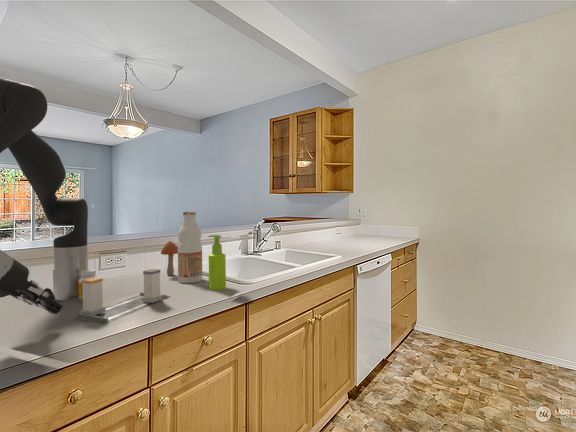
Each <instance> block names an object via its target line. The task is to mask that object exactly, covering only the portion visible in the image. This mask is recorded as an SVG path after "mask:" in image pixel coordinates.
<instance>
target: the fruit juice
mask: <svg viewBox="0 0 576 432" xmlns="http://www.w3.org/2000/svg"><path fill="white" fill-rule="evenodd" d="M196 214H197V212H196V211H183V212H182V216H183V219H182V223H181V226H180V228H179V229H178V231H177V237H178V241H179V242H178V244H177V247H178V253H177V273H178V274H177V278H178V282H179V283H180V284H194V283H199V282H202V281H203V245H202V242H201V238H202V230H201V228H200V227H199V225H198V223H197V219H196Z"/></svg>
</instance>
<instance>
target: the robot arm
mask: <svg viewBox="0 0 576 432" xmlns="http://www.w3.org/2000/svg"><path fill="white" fill-rule="evenodd" d="M47 112H48V101H47V97H46V96H45V94H44V92H42V90H40V89H39V88H37V87H35V86H33V85H30V84H27V83H23V82H19V81H15V80H11V79H7V78H3V77H0V154H1V153H3V152H4V151H5V150H7V149H8V150H9V151H10V153H11V155H12V156H13V158H14V159H15V161H16V162H17V165H18V167H19V168H20V170H21V172H22V173H23V175H24V177H25V178H26V180H27V181H28V183H29V185H30V187H31V188H32V189H33V192H34V193H35V195H36V196H37V198H38V201H39V203H40V205H41V206H40V207H41V208H42V210H43V213H44V216H45V218H46V219H47V221H48V222H49V223H50V224H51V225H53V226H56V227H57V226H58V227H59V226H61V227H65V226H72V227H73V229H72V230H71V231H70V232H68V233H67V234H63V235H60V236H57V237H55V238H54V239H53V242H52V243H53V264H54V265H53V268H54V269H53V270H52V283H53V284H52V285H53V287H52V288H53V289H51V288H49V287H46V288H45V289H44V288H43V287H41V286H40V285H39V283H37V282H36V281H34V280H31V279H30V280H29V276H30V269H29V268H28V267H27V266H26V265H24V264H22V263H21V262H19V261H18V260H16V259H15V258H13V257H12V256H10V255H9V254H7V253H6V252H4V251H3V250H1V249H0V299H1V298H5V297H7V296H8V297H11V298H13V299H16V300H19V301H21V302H23V303H25V304H28V305H30V306H33V305H34V306H35V307H36V308H42V309H43V310H44V311H46V312H48V313H50V314H52V315H53V314H54V315H58V314H59V313H60V311H61V310H62V309H63V305H62V304H60V303H59V302H58V301H60V302H61V301H68V300H70V299H74V298H77V297H78V298H79V284H78V281H79V279H80V278H82V276H81V271H84V270H89V255H88V254H89V253H88V223H89V221H88V220H89V219H88V218H89V217H88V216H89V209H88V203H87V200H85V199H84V198H81V197H58V196H57V195H56V193H57V192H58V191H59V189H60V188H61V186H63V184H64V181H65V179H66V175H67V172H66V168H65V167H64V164H63V161H62V159H61V158H60V155H59V154H58V153H57V151H56V150H55V149H54V148H53V147H52V146H51V145H50V144H49V143H48V142H47V141H45V140H44V139H43V138H41V136H39V135H38V134H36V132H34V131H33V130H34V129H35V128H37V126H38V125H40V124H41V123H42V121H44V119H45V117H46V116H47V114H48V113H47ZM52 290H53V291H52Z"/></svg>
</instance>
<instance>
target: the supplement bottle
mask: <svg viewBox="0 0 576 432" xmlns="http://www.w3.org/2000/svg"><path fill="white" fill-rule="evenodd" d="M96 272H97V271H96V269H88V270H84V271H81V276H82V278H80V279H79V281H78V284H79V296H78V300H81V301H83V286H82V280H85V279H89V278H93V277H95V278H99V277H98V276H95V275H97V273H96Z"/></svg>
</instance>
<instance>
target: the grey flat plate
mask: <svg viewBox="0 0 576 432" xmlns="http://www.w3.org/2000/svg"><path fill="white" fill-rule="evenodd" d="M160 295H162V299H161V300H158V301H156V302H153V303H151V302H144V301H142V297H144V291H141V292H139V294H138V295H136V296H134V297H133V296H132V297H131V298H127V299H124V300H122V301H119V302H116V303H113V304H111V305H107V306H104V307H105V311H104V312H102V313H99V314H96V315H88V314H82V313H81V312H80V313H76V317H74V318H73V319H74V320H79V321H85V322H90V323H91V322H92V323H97V324H101V325H102V324H103V325H104V324H105V325H106V324H108V323H111V322H113V321H115V320H118V319H120V318H123V317H125V316H128V315H130V314H133V313H135V312H137V311H140V310H142V309H145V308H147V307H150V306H152V305H154V304H156V303H159V302H162V301H164V300H166V299H169V298H171V297H172V296H171V295H167V294H166V293H165V294H163V293H160Z"/></svg>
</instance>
